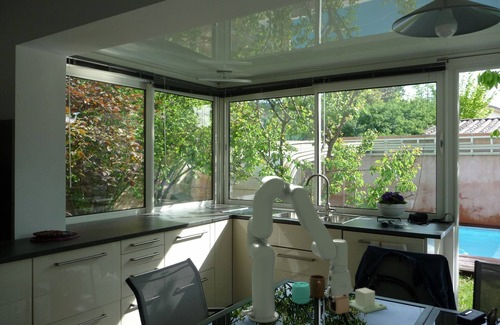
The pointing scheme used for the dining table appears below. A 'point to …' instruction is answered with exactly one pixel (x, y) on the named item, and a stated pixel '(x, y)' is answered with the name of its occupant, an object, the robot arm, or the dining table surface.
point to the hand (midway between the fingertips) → (339, 308)
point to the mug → (317, 286)
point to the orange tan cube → (341, 304)
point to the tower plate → (366, 309)
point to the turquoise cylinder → (300, 293)
